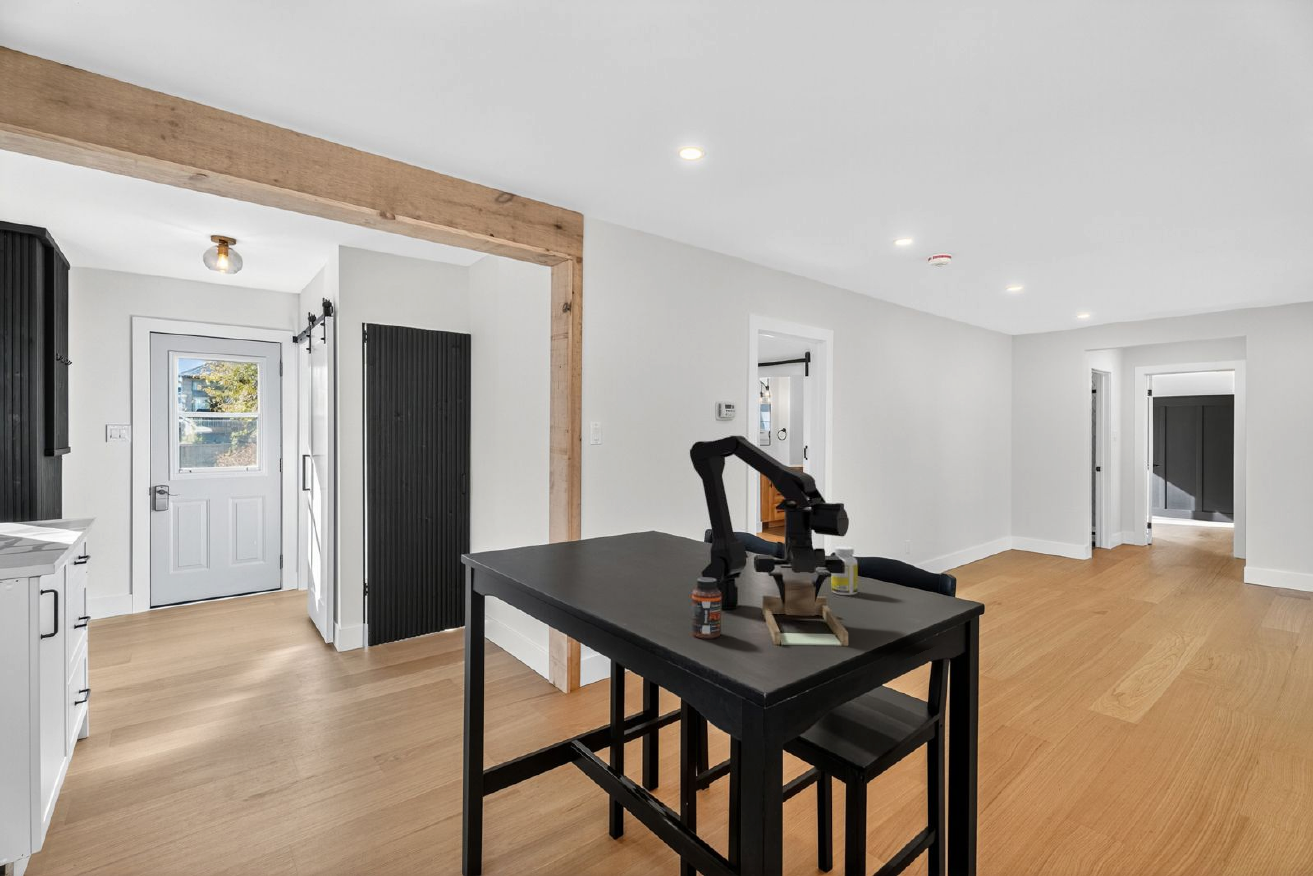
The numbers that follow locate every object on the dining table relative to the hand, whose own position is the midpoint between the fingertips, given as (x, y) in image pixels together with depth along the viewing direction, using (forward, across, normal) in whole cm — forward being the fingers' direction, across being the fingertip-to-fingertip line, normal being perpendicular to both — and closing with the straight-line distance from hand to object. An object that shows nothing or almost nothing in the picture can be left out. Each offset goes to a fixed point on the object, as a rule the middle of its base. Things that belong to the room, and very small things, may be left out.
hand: (798, 603), depth 134 cm
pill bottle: (+4, +16, +26) cm, 31 cm away
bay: (+4, 0, -4) cm, 6 cm away
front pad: (+4, 0, -12) cm, 13 cm away
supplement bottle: (+4, -20, -10) cm, 23 cm away
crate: (+2, 0, 0) cm, 2 cm away
